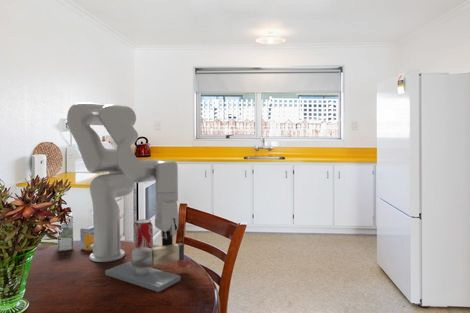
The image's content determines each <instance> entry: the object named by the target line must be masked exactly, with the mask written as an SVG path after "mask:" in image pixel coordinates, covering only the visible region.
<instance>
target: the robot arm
mask: <svg viewBox="0 0 470 313" xmlns="http://www.w3.org/2000/svg"><path fill="white" fill-rule="evenodd" d="M66 116H67V117H66V120H67V121H66V123H67V126H68V130H69V131H70V134H71V136H72V137H73V139H74V141H75V143H76V145H77V148H78V151H79V153H80V156H81V158H82V161H83V163H84V166H85V168H86V169H87V171H88V172H89V173H91V174H100V175H98V176H96V177H94V178H93V179H92V180H91V181H90V183H89V192H90V196H91V202H92V212H93V214H92V216H93V224H94V243H93V245H90V248H91V249H93V250H92V253H90V255H89V260H90V261H91V262H96V263H97V262H98V263H106V262H113V261H117V260H120V259H122V258H124V256H125V250H124V249H121V212H120V211H121V210H120V206H119V204H118V202H117V200H116V198H121V197H125V196H127V195H128V196H129V195H130V194H132V192H133V191H134V188H135V183H136V184H138V183H139V184H140V183H146V182H152V181H155V205H154V206H155V208H154V227H155V228H157V229H158V230H160V232H161V235H160V236H161V246H166V245H172V244H174V243H173V237H174V236H176V231H177V230H178V229H179V209H178V201H179V187H178V186H179V185H178V184H179V181H178V180H179V179H178V178H179V174H178V172H179V170H178V168H179V167H178V166H179V165H178V163H177V161H174V160H159V159H155V158H154V159H153V158H151V159H138V157H137V156H136V155H135V153H134V152H133V150H132V146H133V145H134V144H135V143H136V142H137V140H138V138H139V133H138V132H137V129H135V128H134V125H135V124H136V121H137V114H136V112H135V111H134V109H133V108H131V107H130V106H127V105H121V104H120V105H118V104H104V103H103V104H102V103H97V102H88V101H87V102H85V101H83V102H76V103H73V104H72V105H71V106H70V107H69V109H68V111H67V115H66ZM91 126H103V127H104V128H105V130H106V131H107V133H108V134H109V136H110V138H112V140H113V142H114V143H115V145H116V147H115V148H113V147H108V148H107V147H105V146H104V144H103V143H102V141H101V138H100V136H99V134H98V132H96V130H94V129H93V128H92V127H91ZM103 173H104V174H103Z"/></svg>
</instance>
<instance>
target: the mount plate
mask: <svg viewBox="0 0 470 313" xmlns="http://www.w3.org/2000/svg"><path fill="white" fill-rule="evenodd" d="M104 274H105V276H106V277H107V276H108V277H111V278H113V279H116V280H119V281H123V282H126V283H130V284H133V285H136V286H139V287H141V288H144V289H148V290H151V291H154V292H156V293H159V292H161V291H164V290H165V289H167V288H169V287H171V286H173V285H175V284H176V283H179V282H181V281H182V280H181V275H179V274H175V273H172V272H169V271H165V270H161V269H157V268H153V267H151V266H147V267H140V268H139V267H134V266H132V261H126V262H124V263H121V264H119V265H116V266H114V267H111V268H109V269H108V268H107V269H105V271H104Z"/></svg>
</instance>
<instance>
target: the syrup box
mask: <svg viewBox="0 0 470 313" xmlns="http://www.w3.org/2000/svg"><path fill="white" fill-rule="evenodd" d="M69 213H70V214H69V216H71V217H72V218H69V217H67V219H70V222H68V221H67V223H68V226H67V225H66V224H62V225H61V226H62V229H63V231H62V232H61V236H58V235H57V252H64V251H73V250H74V220H73V219H74V217H73V215H74V214H73V212H69ZM58 238H60V239H61V240H58Z"/></svg>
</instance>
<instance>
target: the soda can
mask: <svg viewBox="0 0 470 313" xmlns="http://www.w3.org/2000/svg"><path fill="white" fill-rule="evenodd" d="M153 227H154V226H153V222H152V220H151V219H148V218H147V219H146V218H144V219H139V220H136V223H135V225H134V249H136V248H143V247H146V248H154V247H153V246H154V228H153Z"/></svg>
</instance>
